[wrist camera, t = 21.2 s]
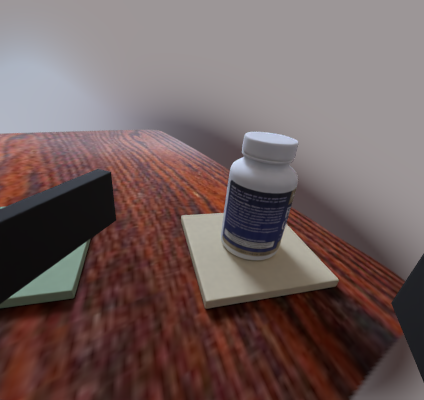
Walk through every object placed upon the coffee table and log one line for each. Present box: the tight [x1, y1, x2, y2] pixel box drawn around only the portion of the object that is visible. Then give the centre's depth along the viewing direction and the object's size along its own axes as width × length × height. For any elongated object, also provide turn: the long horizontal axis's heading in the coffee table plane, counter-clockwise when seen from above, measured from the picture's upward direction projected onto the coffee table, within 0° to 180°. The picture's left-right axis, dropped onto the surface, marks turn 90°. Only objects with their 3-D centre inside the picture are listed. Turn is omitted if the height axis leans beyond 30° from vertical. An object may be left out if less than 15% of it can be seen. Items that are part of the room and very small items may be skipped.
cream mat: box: [181, 213, 339, 309], centre depth 22 cm, size 11×11×1 cm
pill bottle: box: [221, 132, 298, 260], centre depth 20 cm, size 5×5×10 cm
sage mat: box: [0, 207, 91, 308], centre depth 19 cm, size 12×12×1 cm
